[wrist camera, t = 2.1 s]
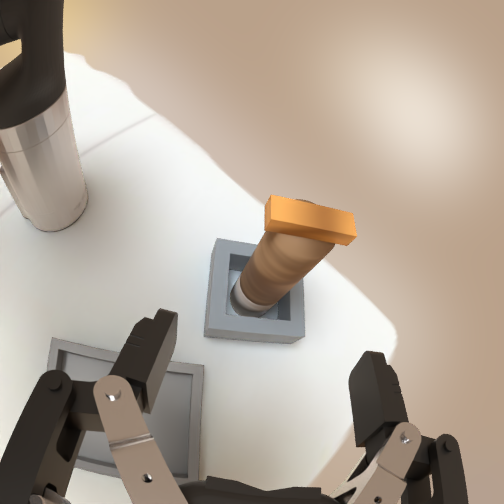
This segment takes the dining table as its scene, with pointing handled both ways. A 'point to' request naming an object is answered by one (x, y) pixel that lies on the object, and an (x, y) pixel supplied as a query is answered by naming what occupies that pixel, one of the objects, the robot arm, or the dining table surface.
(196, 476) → the tool tray
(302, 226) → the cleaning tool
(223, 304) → the tool holder
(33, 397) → the robot arm
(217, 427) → the dining table surface
